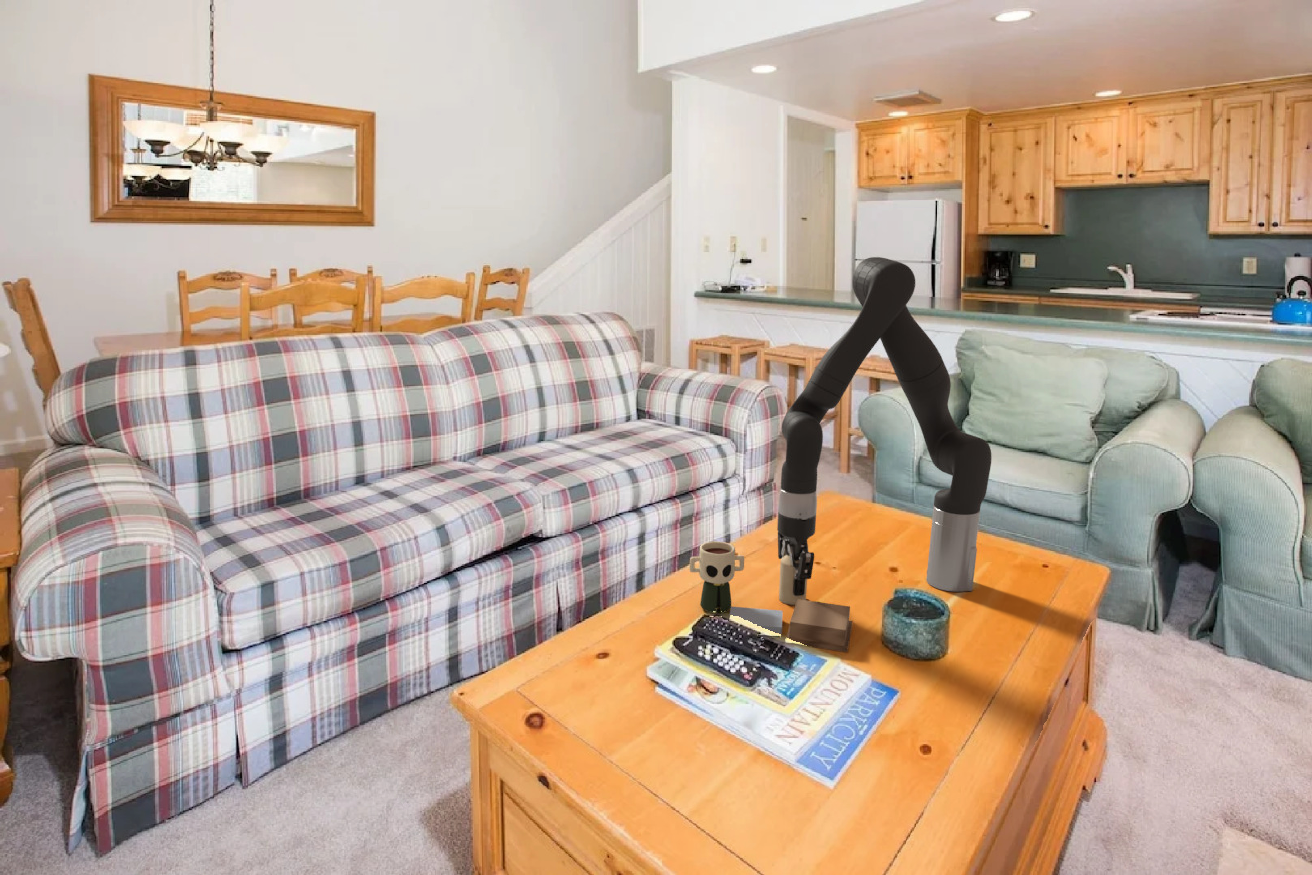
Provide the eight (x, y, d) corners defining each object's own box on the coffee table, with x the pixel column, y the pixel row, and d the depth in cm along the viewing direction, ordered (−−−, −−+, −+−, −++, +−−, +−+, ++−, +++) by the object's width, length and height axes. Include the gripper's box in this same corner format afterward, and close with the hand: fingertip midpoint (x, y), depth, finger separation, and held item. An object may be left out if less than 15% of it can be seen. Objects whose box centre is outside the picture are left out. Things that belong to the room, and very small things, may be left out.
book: (782, 620, 157) (782, 610, 156) (781, 637, 150) (781, 627, 150) (730, 615, 158) (731, 606, 158) (727, 632, 152) (728, 622, 151)
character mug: (691, 617, 157) (692, 555, 154) (686, 601, 164) (687, 541, 161) (746, 615, 159) (748, 553, 155) (738, 599, 165) (741, 540, 162)
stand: (852, 624, 155) (853, 605, 154) (847, 652, 145) (848, 632, 144) (793, 616, 158) (794, 597, 157) (785, 642, 148) (786, 622, 147)
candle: (787, 591, 169) (789, 546, 167) (810, 598, 166) (813, 553, 164) (773, 600, 165) (775, 554, 163) (797, 607, 162) (800, 561, 159)
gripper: (767, 500, 167) (763, 575, 171) (793, 523, 153) (788, 605, 157) (801, 498, 169) (796, 573, 173) (829, 521, 155) (824, 602, 159)
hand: (792, 588), depth 165 cm, fingers closed on candle, 5 cm apart
